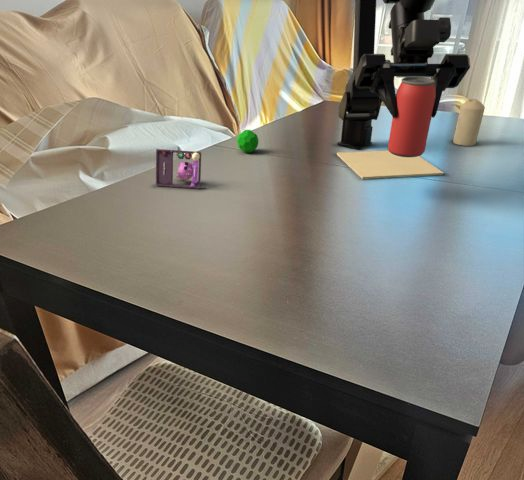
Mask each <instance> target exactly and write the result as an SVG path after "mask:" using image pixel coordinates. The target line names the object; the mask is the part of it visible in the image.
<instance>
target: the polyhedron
mask: <svg viewBox="0 0 524 480" xmlns="http://www.w3.org/2000/svg"><path fill="white" fill-rule="evenodd" d="M236 144H237V147H238V149H240V150H241V151H242V152H243V153H245V154H250V153H252V152H253V151H255V150H256V149H257V148H258V146H259V136H258V135H257V134H256V132H254V131H252V130H251V129H244V130H242V132H240V133H239V134H238V135H237V137H236Z"/></svg>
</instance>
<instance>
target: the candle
mask: <svg viewBox="0 0 524 480" xmlns="http://www.w3.org/2000/svg"><path fill="white" fill-rule="evenodd" d="M485 109H486V107H485V104H483V102H481V101H480V100H479V99H478V98H470V99H467V100H465V102H463V103H462V104H461V105H460V109H459V113H458V117H457V122H456V127H455V131H454V136H453V139H452V140H453V142H452V143H453V144H455V145H458V146H463V147H464V146H465V147H470V146H471V147H472V146H476V144H477V141H478V138H479V137H478V136H479V133H480V128H481V125H482V121H483V118H484V117H483V116H484V112H485Z"/></svg>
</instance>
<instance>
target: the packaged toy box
mask: <svg viewBox="0 0 524 480" xmlns="http://www.w3.org/2000/svg"><path fill="white" fill-rule="evenodd" d="M174 153H175V154H176V156H177V158H178V160H183V159H184V158H185V160H191V158H192V160H193V162H192V161H182V162H179V163H178V165H179V166H178V168H177V169H178V170H177V171H176V174H177V176H176V178H178V179H179V180H181V181H189V180H191V179H192V181H191V182H190V185H183V184H173V183H174V182H173V180H174V179H173V178H174ZM201 174H202V152H201V151H192V150H191V151H190V150H180V149H179V150H176V149H163V148H161V149H160V148H157V149H156V150H155V185H156V186H157V187H159V186H160V187H171V188H172V187H173V188H185V189H186V188H188V189H201V178H202V177H201V176H202V175H201ZM195 184H197V186H196V185H195Z"/></svg>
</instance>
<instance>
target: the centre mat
mask: <svg viewBox="0 0 524 480" xmlns="http://www.w3.org/2000/svg"><path fill="white" fill-rule="evenodd" d="M336 156H337V157H338V158H340V160H341V161H343V162H344V163H345V164H346V165H347V166H348V167H349V168H350V169H351V170H352V171H353V172H354V173H355V174H356V175H357V176H358V177H359V178H360V179H362V180H377V179H392V178H395V179H396V178H413V177H431V176H432V177H433V176H444V174H445V172H444V171H442V170H440V169H439V168H438V167H436V166H435V165H433V164H431V163H430V162H429V161H427V160H426V159H424V158H423V157H421V155H420V156H417V157H400V156H396V155H393V154H391V153H390V152H389V150H388V149H387V150H371V151H370V150H369V151H368V150H367V151H347V152H336Z"/></svg>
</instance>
